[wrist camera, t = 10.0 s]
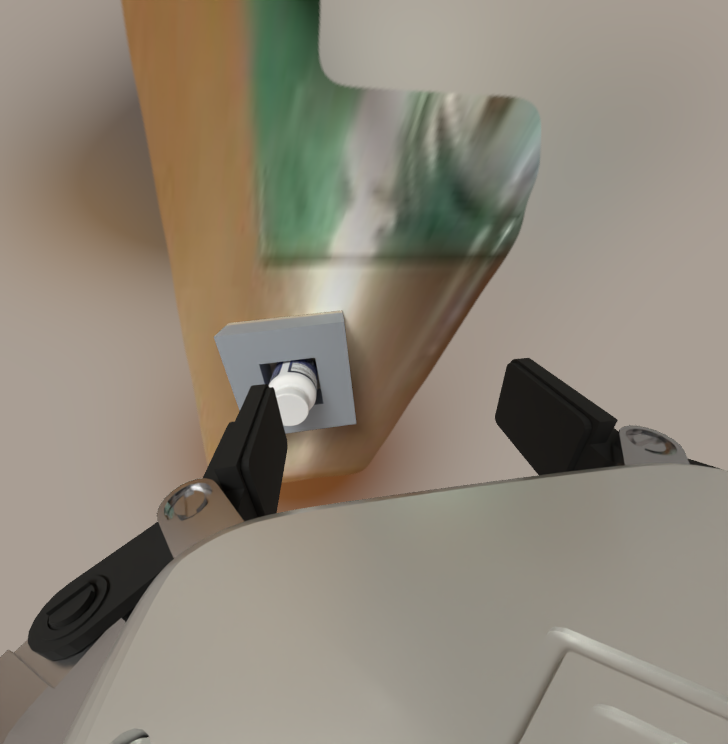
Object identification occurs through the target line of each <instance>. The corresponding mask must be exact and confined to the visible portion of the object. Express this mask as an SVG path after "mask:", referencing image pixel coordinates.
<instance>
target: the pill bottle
mask: <svg viewBox="0 0 728 744" xmlns="http://www.w3.org/2000/svg"><path fill="white" fill-rule="evenodd" d="M317 376H318V370H317V364H316V362H315V360H314V359H313V358H307V359H299V360H291V361H283V362H277V364H276V366H275V369H274V372H273V375H272V377H271V380H270V383H269V385H268V386H269V387H273V388H274V390H275V394H276V398H277V402H278V406H279V410H280V414H281V418H282V422H283V425H284V426H294V425H298V424H300V423H301V422H303V421H304V420H305V419H306V417H307V416H308V413H309V410H310V409H311V408H312V407H313V405H314V403H315V401H316V395H317Z"/></svg>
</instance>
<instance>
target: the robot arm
mask: <svg viewBox="0 0 728 744" xmlns="http://www.w3.org/2000/svg"><path fill="white" fill-rule="evenodd" d="M495 420H496V423H497V425H498V426H499V427H500V428H501V429H502V431H503V432H504V433H505V434H506V436H507V437H508V438H509V439H510V441H511V442H512V443H513V444H514V445H515V447H516V448H517V449H518V450H519V452H520V453H521V454H522V455H523V456H524V458H525V459H526V460H527V461H528V462H529V464H530V465H531V466H532V467H533V469H534V470H535V471H536V472H537V473H538V475H539V476H531V477H524V478H516V479H508V480H501V481H493V482H486V483H478V484H471V485H463V486H456V487H448V488H441V489H434V490H426V491H420V492H412V493H405V494H398V495H391V496H383V497H377V498H370V499H362V500H355V501H348V502H341V503H335V504H328V505H322V506H316V507H309V508H304V509H297V510H291V511H286V512H281V513H276V512H277V506H278V500H279V494H280V488H281V483H282V477H283V471H284V465H285V459H286V454H287V438H286V434H285V430H284V426H283V422H282V418H281V414H280V410H279V406H278V402H277V398H276V394H275V390H274V388H273V387H269V386H268V384H262V385H252V386H251V387H250V389H249V391H248V394H247V396H246V398H245V400H244V403H243V405H242V407H241V409H240V412H239V414H238V416H237V418H236V421H235V422H230V423H229V424H228V426H227V428H226V430H225V432H224V434H223V436H222V439H221V441H220V443H219V445H218V447H217V449H216V451H215V453H214V455H213V458H212V460H211V462H210V464H209V466H208V468H207V470H206V472H205V474H204V476H203V478H202V479H195V480H191V481H188V482H186V483H184V484H182V485H180V486H179V487H177V488H176V489H174V490H173V491H172V492H170V494H169V495H167V496H166V497H165V498H164V500H163V501H162V503H161V504H160V506H159V508H158V512H157V520H158V522H157V523H155V524H154V525H153V526H151V527H150V528H148V529H147V530H145V531H144V532H143V533H141V534H140V535H138V536H137V537H135V538H134V539H132V540H131V541H129V542H128V543H127V544H125V545H124V546H122V547H121V548H119V549H118V550H116V551H115V552H114V553H112V554H111V555H109V556H108V557H106V558H105V559H103V560H102V561H101V562H99V563H98V564H96V565H95V566H94V567H92V568H91V569H89V570H88V571H86V572H85V573H83V574H82V575H80V576H79V577H78V578H76V579H75V580H73V581H72V582H70V583H69V584H68V585H66V586H65V587H64V588H63V589H62V590H60V591H59V592H58V593H57V594H55V596H53V597H52V599H51V600H50V601H49V602H48V603H47V604H46V605H45V606H44V607H43V608H42V610H41V611H40V613H39V614H38V615H37V617H36V618H35V620H34V622H33V624H32V626H31V628H30V631H29V635H28V640H27V641H26V642H25V643H24V644H23V645H21V646H20V647H19V648H18V649H17V650H16V651H15V652H12V651H10V650H7V651H6V652H5V653H4V654H3V655H2V656H1V657H0V744H728V471H726V470H722V469H719V468H716V467H713V466H709V465H707V464H703V463H700V462H697V461H694V460H691V459H687V456H686V454H685V452H684V450H683V448H682V447H681V445H680V444H678V443H677V442H676V441H675V440H673V439H672V438H670V437H668V436H667V435H665V434H662V433H660V432H658V431H656V430H653V429H649V428H646V427H641V426H630V425H629V426H624V427H622V428H621V429H620V430H619V432H618V431H617V430H616V429H614V426H615V424H616V422H617V419H616V418H614V417H613V416H611V415H610V414H608V413H607V412H605V411H604V410H603V409H601V408H600V407H598V406H597V405H596V404H594V403H593V402H591V401H590V400H588V399H587V398H586V397H584V396H583V395H581V394H580V393H578V392H577V391H576V390H574V389H573V388H571V387H570V386H568V385H567V384H566V383H564V382H563V381H561V380H560V379H558V378H557V377H556V376H554V375H553V374H551V373H550V372H548V371H547V370H546V369H544V368H543V367H541V366H540V365H538V364H537V363H536V362H534V361H533V360H531V359H529V358H524V359H514V360H512V361H511V363H509V364H508V365H507V368H506V372H505V376H504V381H503V385H502V389H501V393H500V398H499V402H498V406H497V410H496V414H495ZM147 737H149V738H147Z"/></svg>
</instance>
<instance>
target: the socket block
mask: <svg viewBox="0 0 728 744" xmlns="http://www.w3.org/2000/svg"><path fill="white" fill-rule="evenodd" d="M214 339H215V342H216V345H217V347H218V350H219V353H220V356H221V359H222V362H223V364H224V367H225V370H226V373H227V376H228V379H229V382H230V384H231V387H232V390H233V393H234V396H235V399H236V402H237V404H238V407H239V410H240V409H241V407H242V405H243V403H244V400H245V398H246V396H247V394H248V391H249V389H250V387H251V386H252V385H262V384H268V385H269V383H270V380H271V377H272V375H273V372H274V369H275V366H276V364H277V362H283V361H291V360H299V359H307V358H313V359H314V360H315V362H316V364H317V370H318V376H317V395H316V401H315V403H314V405H313V407H312V408H311V409H310V410H309V413H308V416H307V417H306V419H305V420H304V421H303V422H301V423H300V424H298V425H294V426H284V425H283V426H284V430H285V434H286V433H293V432H300V431H308V430H315V429H322V428H329V427H336V426H344V425H351V424H356V416H355V408H354V400H353V391H352V383H351V375H350V366H349V358H348V350H347V341H346V333H345V325H344V318H343V312H342V311H333V312H324V313H315V314H306V315H298V316H289V317H280V318H271V319H262V320H253V321H244V322H235V323H228V324H227V325H226V326H225V327H224V328H223V329H222V330H221V331H220V332H219V333H217V334H216V335H215V336H214Z"/></svg>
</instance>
